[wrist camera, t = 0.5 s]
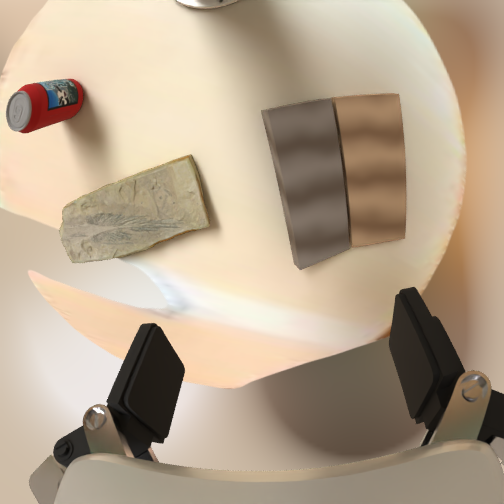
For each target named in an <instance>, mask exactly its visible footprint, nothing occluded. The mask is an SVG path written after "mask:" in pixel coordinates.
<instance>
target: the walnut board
mask: <svg viewBox="0 0 504 504" xmlns="http://www.w3.org/2000/svg"><path fill="white" fill-rule="evenodd" d="M331 99H332V104H333V110H334V115H335V121H336V127H337V133H338V139H339V146H340V152H341V160H342V167H343V175H344V184H345V193H346V203H347V215H348V228H349V241H350V244H351V246H352V248H354V247H360V246H366V245H371V244H377V243H382V242H388V241H393V240H399V239H404V238H405V229H406V163H405V146H404V133H403V123H402V114H401V106H400V99H399V94H395V93H387V94H367V95H354V96H343V97H333V98H331Z"/></svg>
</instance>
